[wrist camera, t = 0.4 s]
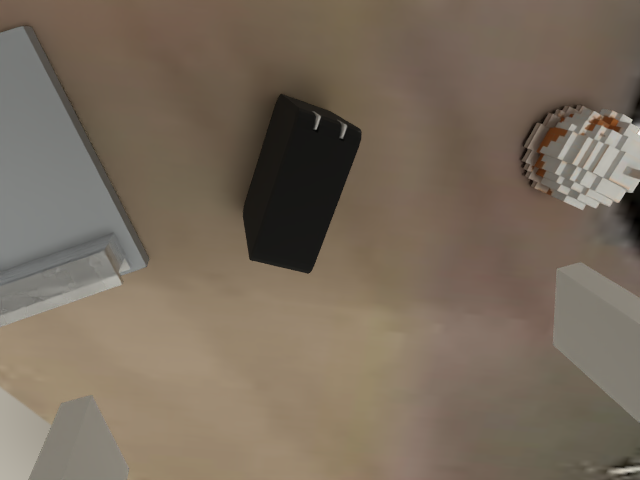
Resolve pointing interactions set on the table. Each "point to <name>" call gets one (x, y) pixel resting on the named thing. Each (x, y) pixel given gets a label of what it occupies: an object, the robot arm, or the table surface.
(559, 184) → the decorative ornament
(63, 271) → the rail
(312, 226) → the electronic device
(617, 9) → the table surface
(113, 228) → the mounting plate
